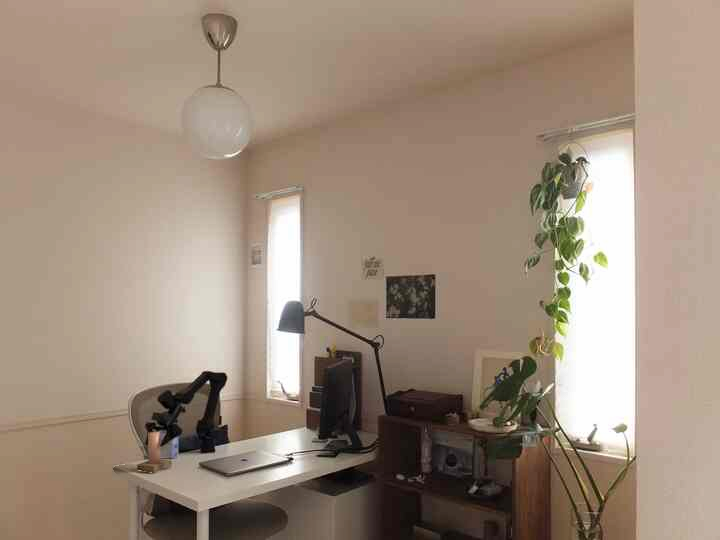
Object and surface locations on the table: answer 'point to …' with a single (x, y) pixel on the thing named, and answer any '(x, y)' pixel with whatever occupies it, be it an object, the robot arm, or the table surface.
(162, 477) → the table surface
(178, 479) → the table surface
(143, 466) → the walnut plinth
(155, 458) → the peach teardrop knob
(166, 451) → the ink cartridge box
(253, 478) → the table surface
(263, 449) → the table surface
